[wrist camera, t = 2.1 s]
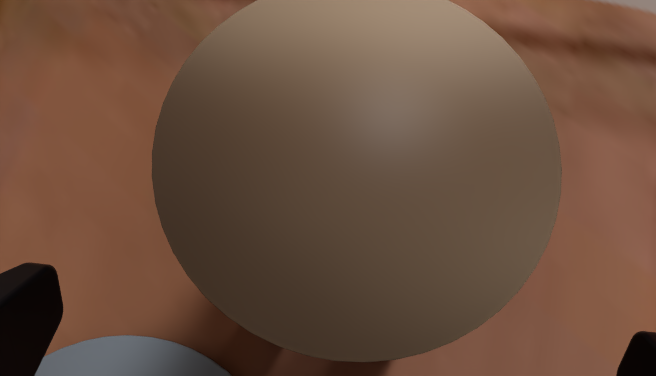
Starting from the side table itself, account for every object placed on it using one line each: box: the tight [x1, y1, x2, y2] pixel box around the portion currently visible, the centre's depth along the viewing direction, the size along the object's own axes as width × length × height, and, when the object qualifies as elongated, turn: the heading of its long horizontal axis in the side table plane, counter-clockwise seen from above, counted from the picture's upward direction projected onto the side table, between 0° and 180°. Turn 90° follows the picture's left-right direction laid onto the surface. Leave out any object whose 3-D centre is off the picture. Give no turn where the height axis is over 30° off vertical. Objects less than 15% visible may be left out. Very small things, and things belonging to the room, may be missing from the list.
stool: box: [152, 0, 562, 362], centre depth 14 cm, size 7×7×11 cm
